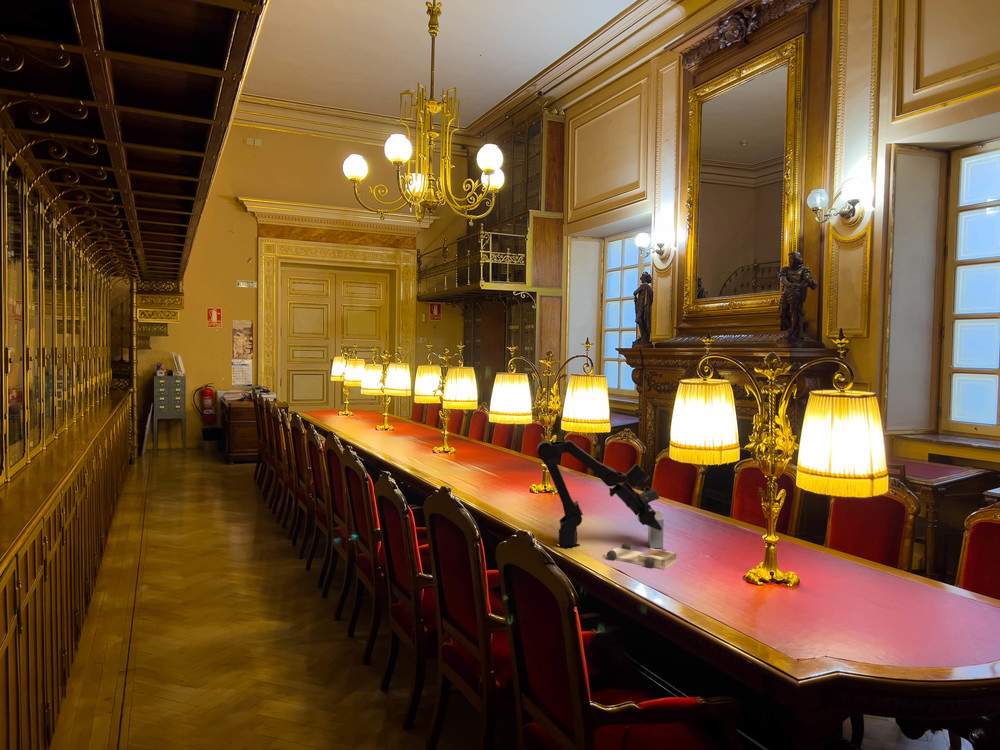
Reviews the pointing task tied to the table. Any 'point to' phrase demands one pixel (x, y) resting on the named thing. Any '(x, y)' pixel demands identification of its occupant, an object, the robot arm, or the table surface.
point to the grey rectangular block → (656, 533)
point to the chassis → (642, 556)
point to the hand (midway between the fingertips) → (659, 527)
